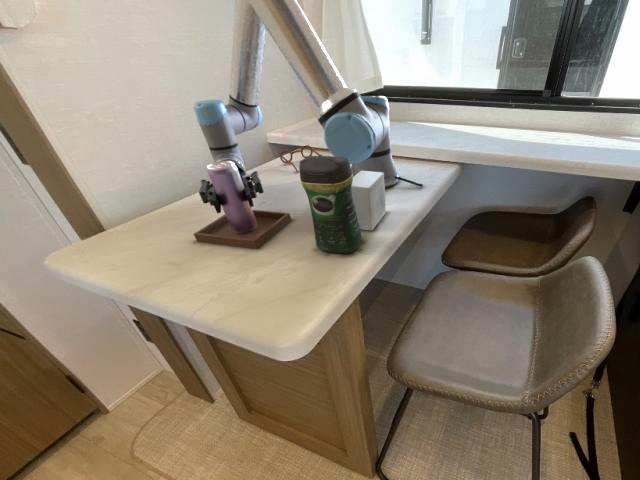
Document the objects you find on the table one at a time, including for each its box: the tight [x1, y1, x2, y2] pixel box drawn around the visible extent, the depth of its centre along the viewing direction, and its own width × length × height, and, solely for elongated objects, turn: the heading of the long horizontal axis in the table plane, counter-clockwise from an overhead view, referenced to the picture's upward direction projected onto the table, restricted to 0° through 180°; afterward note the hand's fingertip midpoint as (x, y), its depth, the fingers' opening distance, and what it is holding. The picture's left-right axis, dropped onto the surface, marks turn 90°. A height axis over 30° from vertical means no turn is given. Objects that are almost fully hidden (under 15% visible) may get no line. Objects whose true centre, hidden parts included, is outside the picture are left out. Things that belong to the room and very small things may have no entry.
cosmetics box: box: [352, 171, 387, 231], centre depth 75 cm, size 10×6×10 cm, turn 163°
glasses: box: [279, 144, 324, 173], centre depth 116 cm, size 13×13×5 cm
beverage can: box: [206, 161, 257, 234], centre depth 72 cm, size 6×6×15 cm
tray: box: [193, 209, 292, 250], centre depth 76 cm, size 17×15×2 cm
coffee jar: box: [298, 155, 363, 254], centre depth 63 cm, size 10×8×19 cm
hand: (233, 203), depth 68 cm, fingers open, 6 cm apart
